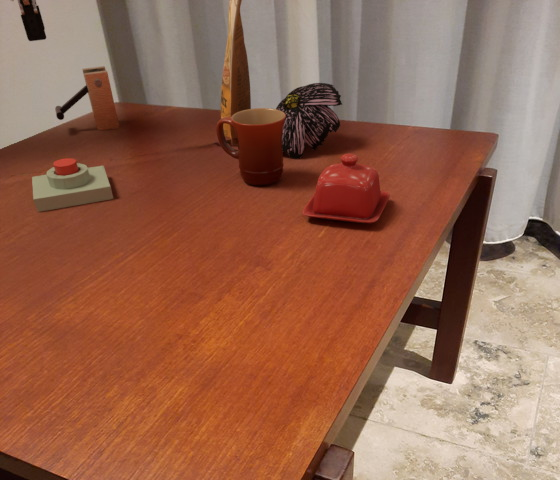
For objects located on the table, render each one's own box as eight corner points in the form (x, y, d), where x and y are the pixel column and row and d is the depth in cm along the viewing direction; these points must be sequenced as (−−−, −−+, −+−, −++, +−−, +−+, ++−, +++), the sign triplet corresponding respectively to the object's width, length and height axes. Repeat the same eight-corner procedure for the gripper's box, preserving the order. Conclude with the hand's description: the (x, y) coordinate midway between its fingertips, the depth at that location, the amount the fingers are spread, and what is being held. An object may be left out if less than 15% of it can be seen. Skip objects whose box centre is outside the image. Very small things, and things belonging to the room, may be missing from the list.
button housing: (37, 212, 88) (29, 188, 85) (36, 189, 95) (28, 166, 92) (113, 199, 91) (107, 175, 88) (106, 177, 98) (100, 154, 95)
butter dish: (321, 192, 90) (321, 138, 84) (391, 199, 87) (397, 144, 81) (299, 222, 82) (298, 165, 76) (375, 232, 79) (381, 173, 73)
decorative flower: (247, 88, 103) (322, 55, 102) (263, 139, 113) (332, 110, 112) (269, 133, 95) (350, 98, 94) (285, 184, 105) (358, 152, 104)
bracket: (81, 143, 112) (64, 79, 104) (77, 129, 119) (61, 68, 111) (140, 134, 115) (128, 71, 107) (133, 121, 122) (121, 61, 114)
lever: (62, 123, 111) (52, 113, 109) (60, 116, 114) (51, 106, 113) (108, 83, 109) (99, 72, 108) (105, 78, 113) (96, 67, 111)
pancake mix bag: (258, 117, 121) (249, -42, 102) (254, 148, 106) (242, -31, 88) (228, 118, 121) (213, -41, 103) (219, 149, 107) (200, -30, 88)
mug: (295, 172, 96) (293, 110, 90) (276, 192, 90) (273, 126, 84) (233, 165, 100) (227, 104, 93) (210, 183, 94) (203, 120, 87)
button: (57, 178, 89) (53, 167, 88) (55, 170, 91) (52, 160, 90) (79, 174, 90) (76, 164, 89) (78, 167, 92) (75, 156, 91)
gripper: (-19, -83, 97) (16, 30, 109) (-25, -81, 85) (15, 46, 96) (25, -86, 99) (55, 25, 110) (26, -84, 87) (60, 41, 98)
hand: (37, 35), depth 103 cm, fingers open, 9 cm apart
